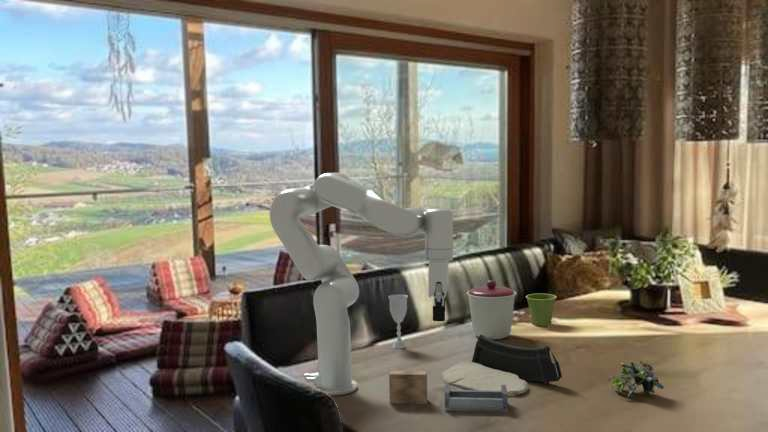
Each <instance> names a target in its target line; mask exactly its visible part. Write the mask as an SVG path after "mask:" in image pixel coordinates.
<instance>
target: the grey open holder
mask: <svg viewBox="0 0 768 432" xmlns="http://www.w3.org/2000/svg"><path fill="white" fill-rule="evenodd" d="M508 397H509V396H507V389H506V385H501V391H490V390H467V389H451V384H449V383H445V388H444V411H445V412H472V413H473V412H477V413H478V412H479V413H481V412H483V413H484V412H485V413H508V412H509V410H508V409H509V408H508V406H509V405H508Z"/></svg>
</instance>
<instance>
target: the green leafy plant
mask: <svg viewBox="0 0 768 432" xmlns="http://www.w3.org/2000/svg"><path fill="white" fill-rule="evenodd" d="M639 363H640V364H638V363H637V362H635V361H634V360H632V361H631V362H630V363H628V365H627V364H626V363H623V362H621V363H620V366H621V367H622V368H621V369H622V372H621V374H620V375H619V376H617V377H616V378H615V377H614V375H610V377H609V378H608V379H607V381H608V382H609V383H610V382H611V384H610V385H611V387H612V388H614V387H616V389H617V390H620V391H619V392H620V393H623V390H624V388H625V387H626V386H627V387H628V389H627V390H628V391H627V392H628V395H627V397H626V399H629V397H630V396H631V394H633V393H634V391H636V389H637V387H639V386H641V387H642V389H643V392H645V394H650V393H652V394H655V393H656V392H655V390H654V387H655V386H656V387H657V388H658V389H661V390H663V389H664V388H665V386H664V385H663V384H661V383H660V382H659V378H658V376H654V375H655V374H656V373H655V372H653V371H655V370H654V367H653V366H651V364H650V363H648V362H646V361H642V360H640V361H639ZM626 375H627V376H626ZM612 379H613V380H612ZM632 379H633V380H634V383H632V382H631V381H632ZM611 380H612V381H611Z"/></svg>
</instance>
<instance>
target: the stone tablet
mask: <svg viewBox="0 0 768 432" xmlns="http://www.w3.org/2000/svg"><path fill="white" fill-rule="evenodd" d="M442 378H443V381H444V383H445V384H450V386H455V387H459V388H461V389H463V390H490V391H501V385H506V389H507V397H515V396H516V397H517V396H518V395H521V394H524V393H526V392H527V391H529V385H528V382H527V380H522V379H519V376H517V375H516V374H512V373H509V372H504V371H500V370H495V369H492V368H489V367H485V366H483V365H481V364H478V363H474V362H472V361H461V362H459V363H457V364H454V365H452V366H451V367H450V368H449V369H446V370H444V371H442Z"/></svg>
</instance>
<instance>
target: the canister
mask: <svg viewBox="0 0 768 432" xmlns="http://www.w3.org/2000/svg"><path fill="white" fill-rule="evenodd" d="M466 295H467V296H468V300H469V301H468V302H469V310H470V318H471V324H472V326H471V327H472V330H473V333H474V335H475V336H476V337H477V338H479V336H480V335H484V336H485V337H487V338H489V339H491V340H494V341H496V340H503V339H505V338H507V337H509V335H510V334H511V332H512V327H513V326H512V324H513V316H514V307H515V297H516V295H517V292H516V290H513V289H512V288H511V287H510V288H509V287H506V286H499V285H497V282H496V281H495V280H493V279H491V280H490V279H489V280H487V281H486V284H485V285H482V286H480V285H479V286H475V287H472V288H471V289H469V290H468V291H466Z"/></svg>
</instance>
